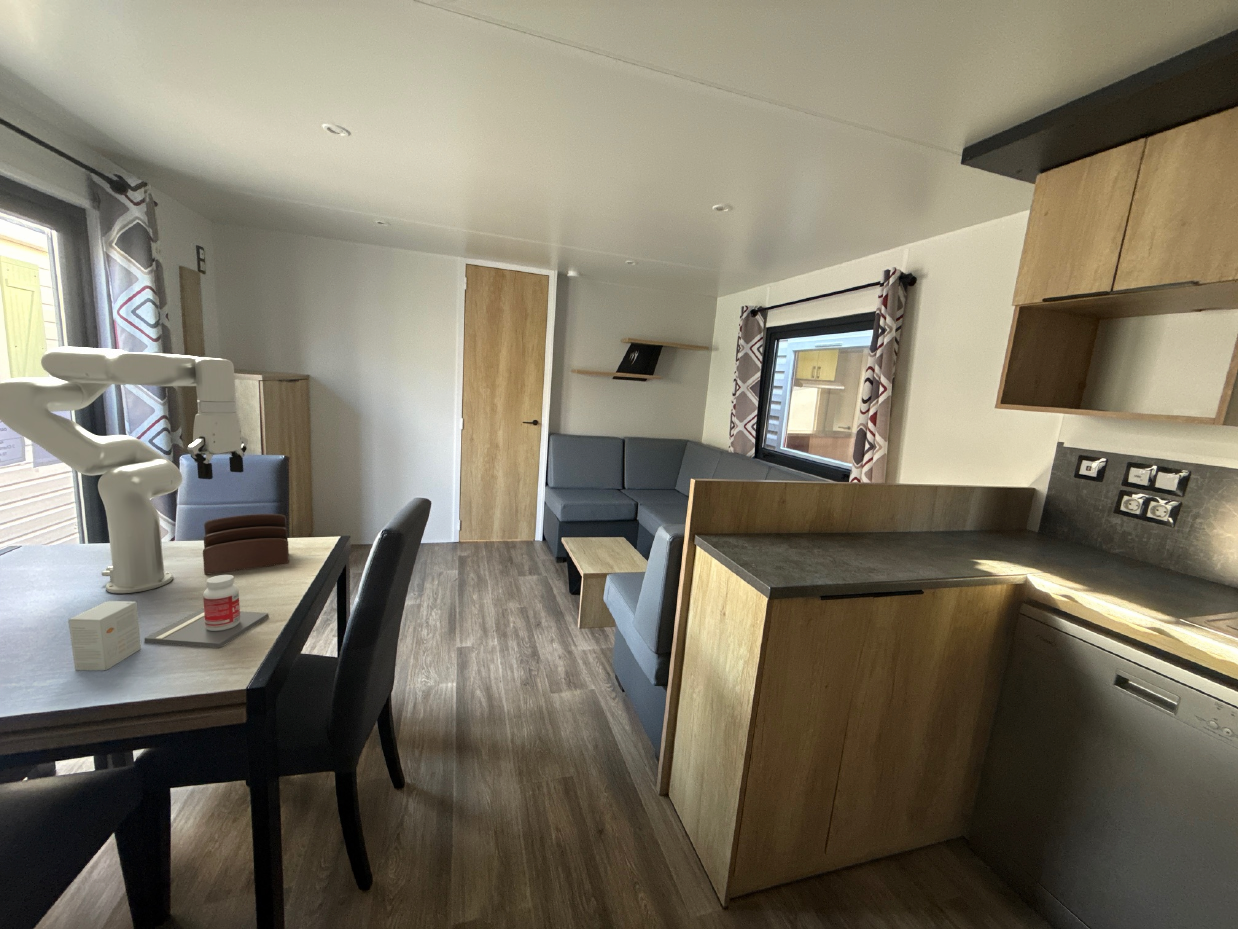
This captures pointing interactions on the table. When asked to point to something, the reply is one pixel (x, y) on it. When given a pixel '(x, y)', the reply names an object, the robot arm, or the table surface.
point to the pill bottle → (221, 603)
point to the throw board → (203, 630)
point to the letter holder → (245, 542)
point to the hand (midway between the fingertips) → (221, 475)
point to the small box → (104, 635)
